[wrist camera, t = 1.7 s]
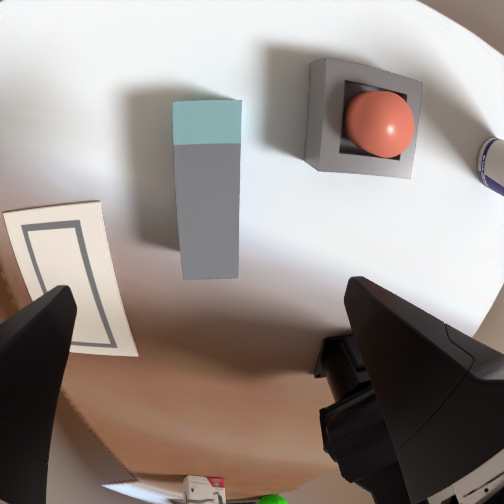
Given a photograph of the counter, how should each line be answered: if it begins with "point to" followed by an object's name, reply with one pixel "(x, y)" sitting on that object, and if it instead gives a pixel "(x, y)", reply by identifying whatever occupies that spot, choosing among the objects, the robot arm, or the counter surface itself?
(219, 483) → the ink box
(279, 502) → the plastic bottle
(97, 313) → the paper sheet
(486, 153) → the energy drink
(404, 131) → the button
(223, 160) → the teal-tipped grey block
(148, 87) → the counter surface
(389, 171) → the button housing
